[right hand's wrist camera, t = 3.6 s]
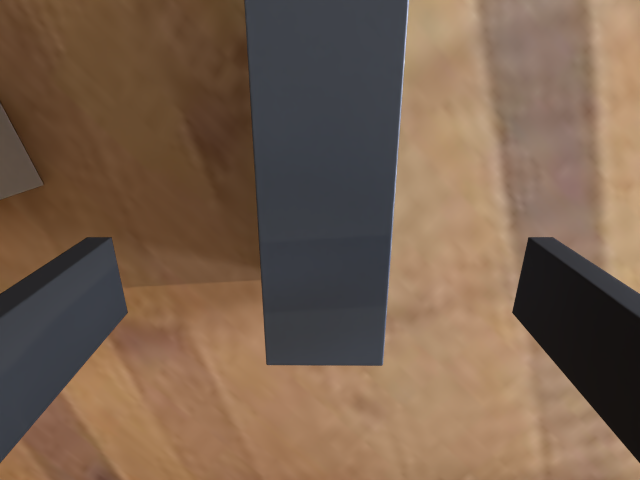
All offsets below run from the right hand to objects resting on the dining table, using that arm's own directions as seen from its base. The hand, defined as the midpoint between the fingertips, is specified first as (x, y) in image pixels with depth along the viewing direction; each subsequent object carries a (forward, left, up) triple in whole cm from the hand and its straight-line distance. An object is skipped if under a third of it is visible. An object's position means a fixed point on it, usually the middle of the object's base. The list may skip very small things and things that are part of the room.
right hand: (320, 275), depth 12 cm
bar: (0, -9, -9) cm, 12 cm away
